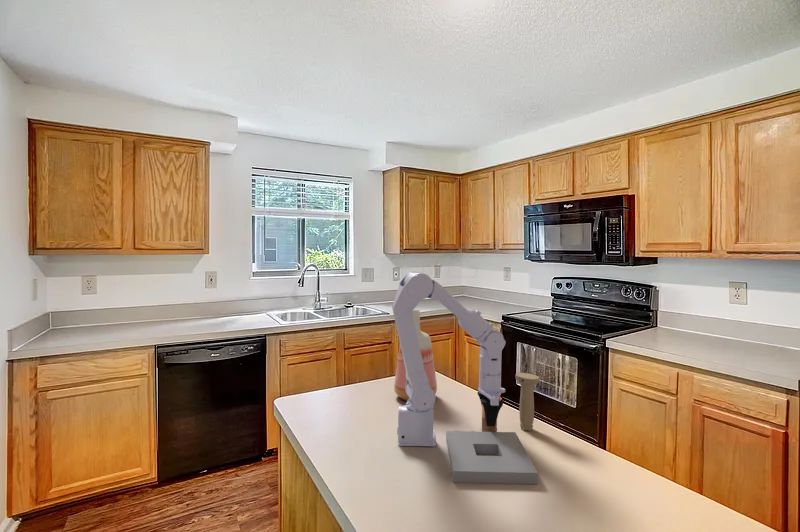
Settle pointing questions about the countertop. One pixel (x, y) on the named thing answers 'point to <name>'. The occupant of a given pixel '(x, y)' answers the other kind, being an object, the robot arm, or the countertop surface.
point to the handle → (527, 399)
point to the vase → (426, 358)
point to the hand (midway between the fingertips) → (489, 422)
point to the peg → (484, 425)
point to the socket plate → (489, 458)
